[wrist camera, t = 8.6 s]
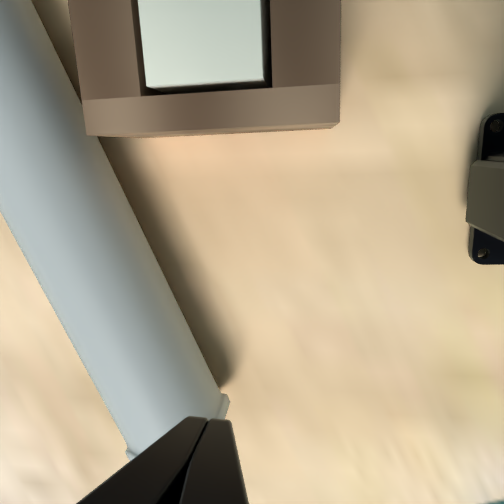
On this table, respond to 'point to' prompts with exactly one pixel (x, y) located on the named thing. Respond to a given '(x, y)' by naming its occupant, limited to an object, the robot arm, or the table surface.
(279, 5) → the walnut block
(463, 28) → the table surface
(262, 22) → the peg cream
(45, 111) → the tube
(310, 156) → the table surface
